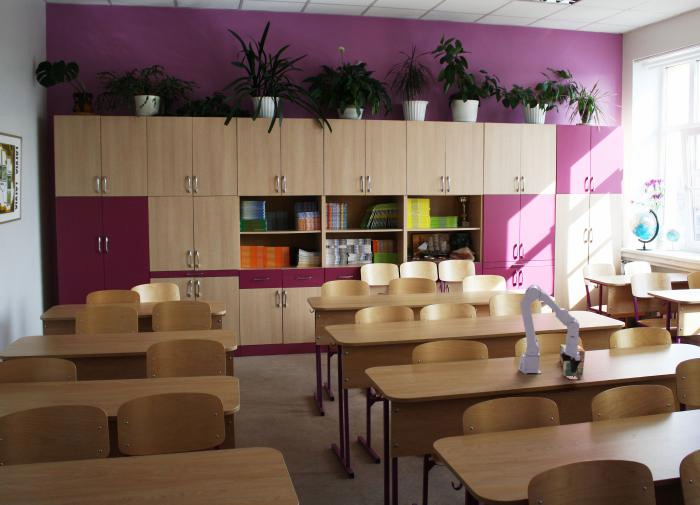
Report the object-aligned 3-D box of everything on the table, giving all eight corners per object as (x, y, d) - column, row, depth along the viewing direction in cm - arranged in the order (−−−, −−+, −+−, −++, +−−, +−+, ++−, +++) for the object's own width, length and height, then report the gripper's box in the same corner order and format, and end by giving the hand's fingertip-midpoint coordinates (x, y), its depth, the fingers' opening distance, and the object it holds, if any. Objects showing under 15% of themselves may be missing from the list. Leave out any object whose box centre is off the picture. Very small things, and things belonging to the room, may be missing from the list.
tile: (565, 376, 350) (566, 362, 349) (562, 374, 353) (563, 361, 352) (576, 375, 351) (577, 362, 350) (573, 374, 354) (574, 360, 353)
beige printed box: (558, 361, 378) (560, 338, 376) (570, 361, 378) (572, 339, 376) (571, 373, 357) (573, 350, 355) (583, 374, 357) (585, 350, 355)
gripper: (586, 347, 343) (584, 374, 345) (572, 339, 358) (570, 365, 360) (573, 348, 342) (571, 374, 344) (559, 340, 356) (557, 365, 358)
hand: (569, 370), depth 352 cm, fingers open, 7 cm apart
